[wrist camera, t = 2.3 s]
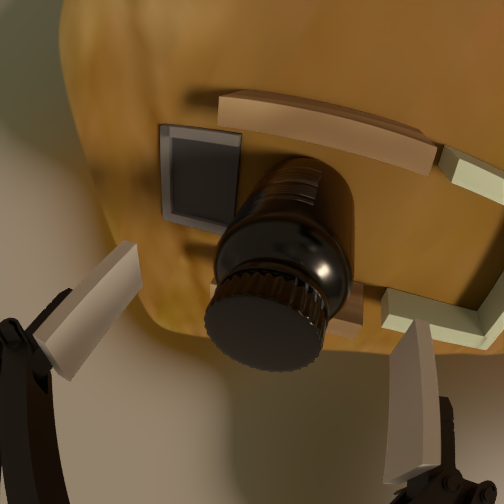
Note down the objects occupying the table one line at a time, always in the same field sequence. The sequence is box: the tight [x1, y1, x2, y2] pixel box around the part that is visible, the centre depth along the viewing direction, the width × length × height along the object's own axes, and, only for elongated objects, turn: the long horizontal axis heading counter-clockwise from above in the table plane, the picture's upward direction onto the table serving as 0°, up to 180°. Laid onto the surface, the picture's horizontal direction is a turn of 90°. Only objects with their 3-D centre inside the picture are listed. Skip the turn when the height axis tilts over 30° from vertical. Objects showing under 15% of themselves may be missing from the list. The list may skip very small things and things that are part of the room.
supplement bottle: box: [204, 158, 355, 372], centre depth 16 cm, size 7×7×12 cm
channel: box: [210, 89, 437, 339], centre depth 19 cm, size 14×11×4 cm
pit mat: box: [160, 124, 242, 235], centre depth 22 cm, size 8×6×1 cm
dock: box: [381, 145, 504, 350], centre depth 17 cm, size 14×11×3 cm
